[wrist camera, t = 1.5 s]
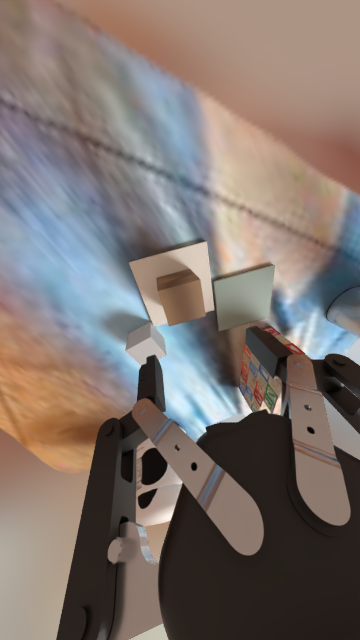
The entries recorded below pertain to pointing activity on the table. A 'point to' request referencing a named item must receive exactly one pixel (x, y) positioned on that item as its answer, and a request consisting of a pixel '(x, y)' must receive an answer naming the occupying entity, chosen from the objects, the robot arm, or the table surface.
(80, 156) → the table surface
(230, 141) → the table surface
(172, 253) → the tile
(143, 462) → the milk container
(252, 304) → the grey-green mat
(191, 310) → the walnut block
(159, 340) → the grey block
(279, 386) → the stack of blocks
